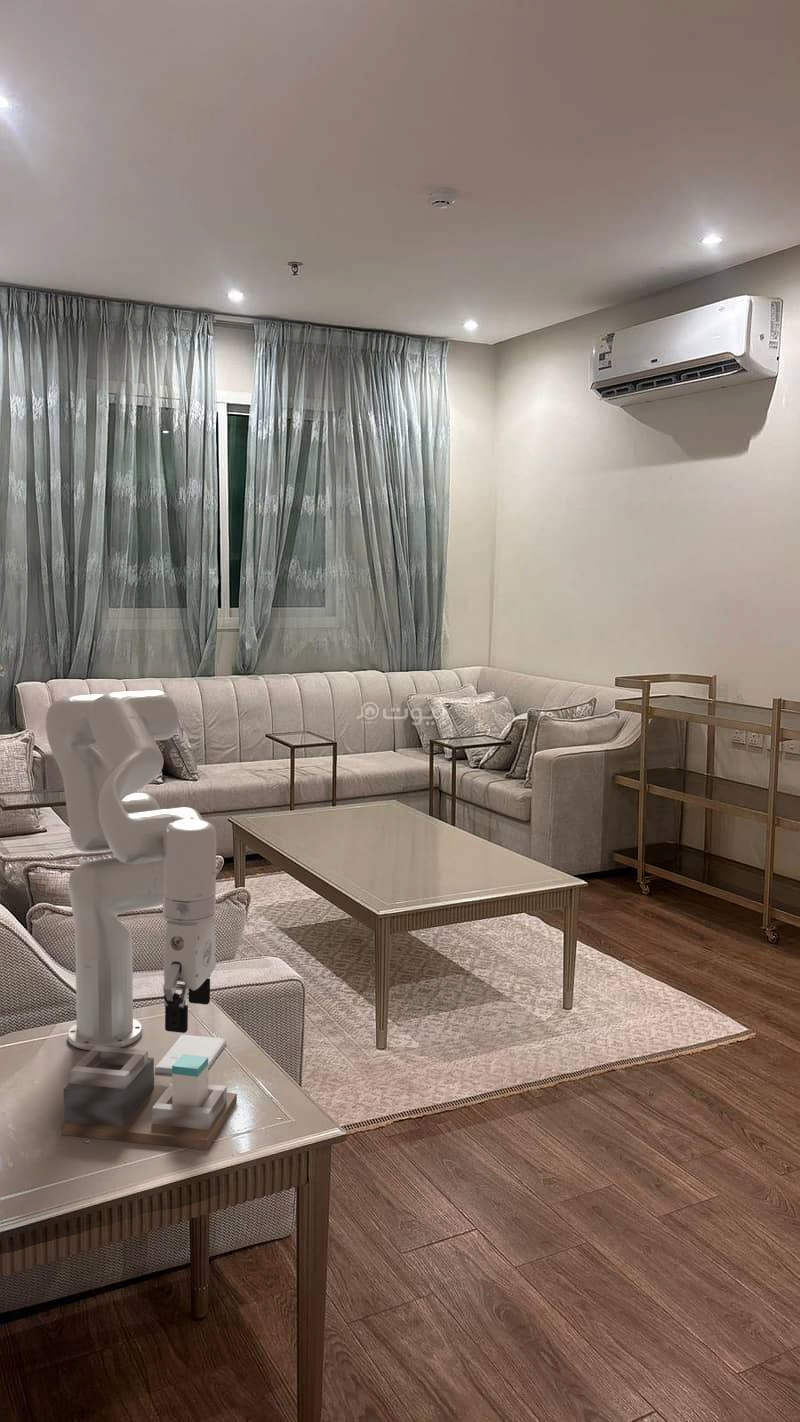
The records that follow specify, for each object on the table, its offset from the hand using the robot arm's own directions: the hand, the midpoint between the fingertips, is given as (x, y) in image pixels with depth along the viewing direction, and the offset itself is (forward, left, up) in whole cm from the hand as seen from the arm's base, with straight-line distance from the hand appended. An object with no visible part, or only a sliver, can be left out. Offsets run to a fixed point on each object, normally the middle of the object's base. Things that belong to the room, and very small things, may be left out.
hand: (188, 1016), depth 160 cm
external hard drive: (-18, +11, -17) cm, 27 cm away
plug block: (+1, 0, -15) cm, 15 cm away
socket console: (-4, -4, -16) cm, 17 cm away
